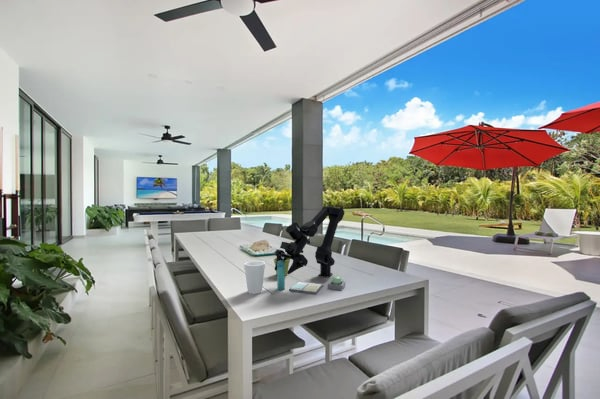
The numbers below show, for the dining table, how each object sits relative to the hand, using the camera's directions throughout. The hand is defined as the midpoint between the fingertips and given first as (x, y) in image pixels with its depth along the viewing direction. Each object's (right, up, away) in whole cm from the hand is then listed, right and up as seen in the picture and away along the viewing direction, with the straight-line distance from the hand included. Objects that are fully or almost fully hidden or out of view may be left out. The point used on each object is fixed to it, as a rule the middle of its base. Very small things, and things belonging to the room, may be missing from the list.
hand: (281, 271), depth 134 cm
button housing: (+27, -8, +3) cm, 28 cm away
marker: (0, -8, 0) cm, 8 cm away
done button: (+27, -6, +3) cm, 27 cm away
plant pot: (-1, -8, +24) cm, 25 cm away
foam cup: (-12, -8, -3) cm, 15 cm away
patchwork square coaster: (+12, -8, +1) cm, 14 cm away
